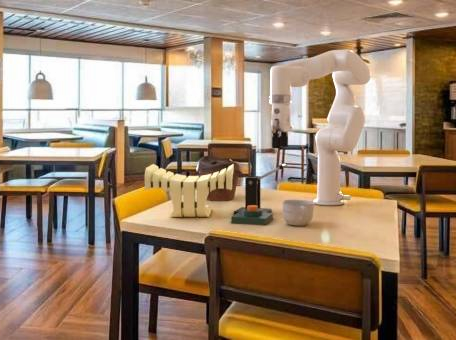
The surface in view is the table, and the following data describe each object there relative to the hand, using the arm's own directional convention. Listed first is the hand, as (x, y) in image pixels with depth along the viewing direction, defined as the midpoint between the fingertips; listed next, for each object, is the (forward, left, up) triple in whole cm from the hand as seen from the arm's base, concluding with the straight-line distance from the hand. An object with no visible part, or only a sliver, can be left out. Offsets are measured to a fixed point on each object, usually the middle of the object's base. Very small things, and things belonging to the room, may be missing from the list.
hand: (280, 147), depth 196 cm
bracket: (+10, 0, -25) cm, 27 cm away
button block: (+6, +13, -25) cm, 29 cm away
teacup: (-11, +15, -25) cm, 31 cm away
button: (+6, +13, -21) cm, 26 cm away
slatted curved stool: (+31, +8, -25) cm, 41 cm away
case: (+33, -26, -25) cm, 49 cm away
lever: (+4, 0, -11) cm, 12 cm away
